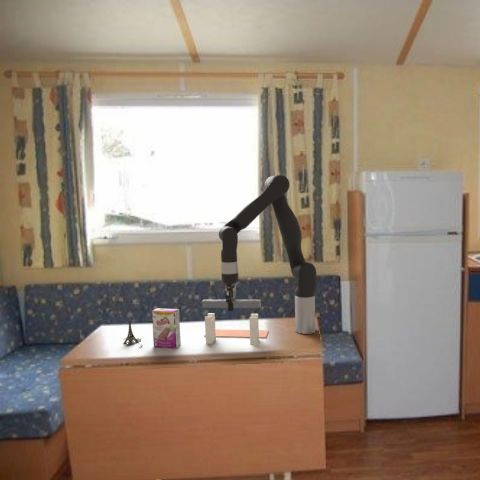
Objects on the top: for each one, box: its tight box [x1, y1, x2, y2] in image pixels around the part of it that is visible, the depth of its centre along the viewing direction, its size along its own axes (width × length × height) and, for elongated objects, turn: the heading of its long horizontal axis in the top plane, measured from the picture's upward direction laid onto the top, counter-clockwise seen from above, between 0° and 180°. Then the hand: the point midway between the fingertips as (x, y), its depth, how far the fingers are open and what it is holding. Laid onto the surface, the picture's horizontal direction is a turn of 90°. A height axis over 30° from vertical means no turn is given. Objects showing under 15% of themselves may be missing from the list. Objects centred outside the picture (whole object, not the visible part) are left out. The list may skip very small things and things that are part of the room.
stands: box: [204, 312, 260, 346], centre depth 182 cm, size 23×6×12 cm, turn 80°
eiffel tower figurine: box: [122, 317, 143, 348], centre depth 185 cm, size 15×10×13 cm
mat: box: [203, 328, 269, 339], centre depth 193 cm, size 29×10×1 cm, turn 80°
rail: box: [201, 298, 262, 309], centre depth 181 cm, size 26×3×3 cm, turn 80°
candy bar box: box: [151, 307, 182, 349], centre depth 180 cm, size 11×5×16 cm, turn 74°
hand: (231, 309), depth 182 cm, fingers closed on rail, 3 cm apart
